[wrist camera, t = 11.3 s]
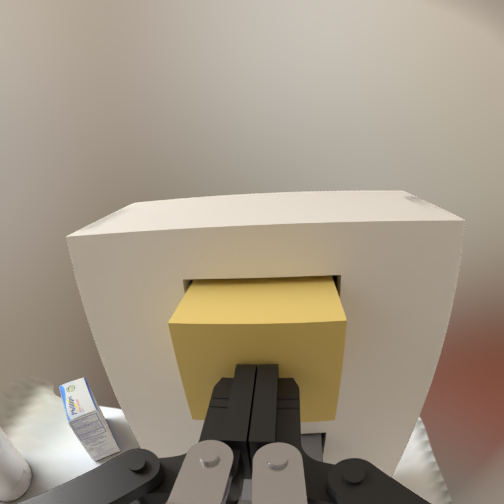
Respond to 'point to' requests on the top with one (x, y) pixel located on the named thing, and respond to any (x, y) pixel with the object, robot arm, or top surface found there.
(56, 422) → the top surface
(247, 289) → the tan square block
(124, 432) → the top surface
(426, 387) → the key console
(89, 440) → the medicine box
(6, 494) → the robot arm
